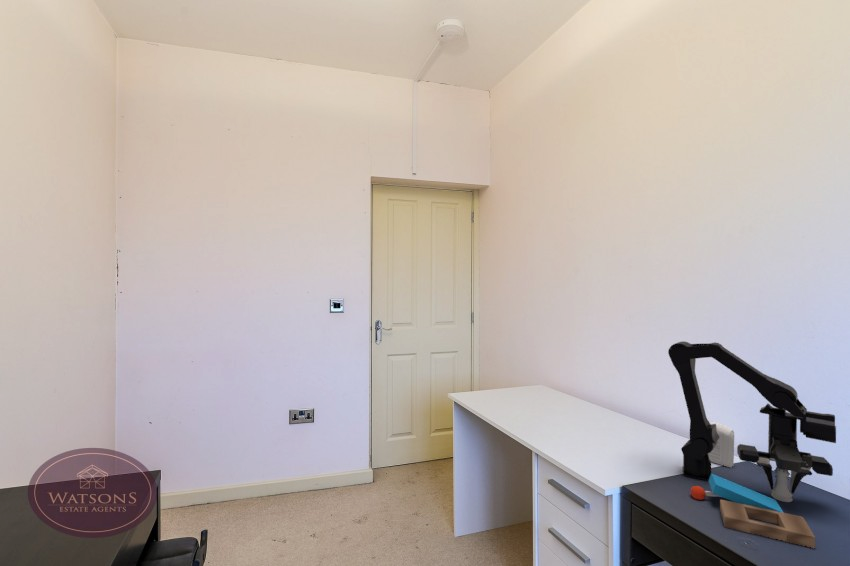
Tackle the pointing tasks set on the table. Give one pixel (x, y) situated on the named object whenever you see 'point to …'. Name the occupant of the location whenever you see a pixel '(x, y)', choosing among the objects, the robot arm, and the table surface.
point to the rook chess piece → (781, 486)
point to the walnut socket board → (788, 528)
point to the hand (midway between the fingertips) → (781, 490)
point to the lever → (735, 494)
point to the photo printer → (723, 446)
